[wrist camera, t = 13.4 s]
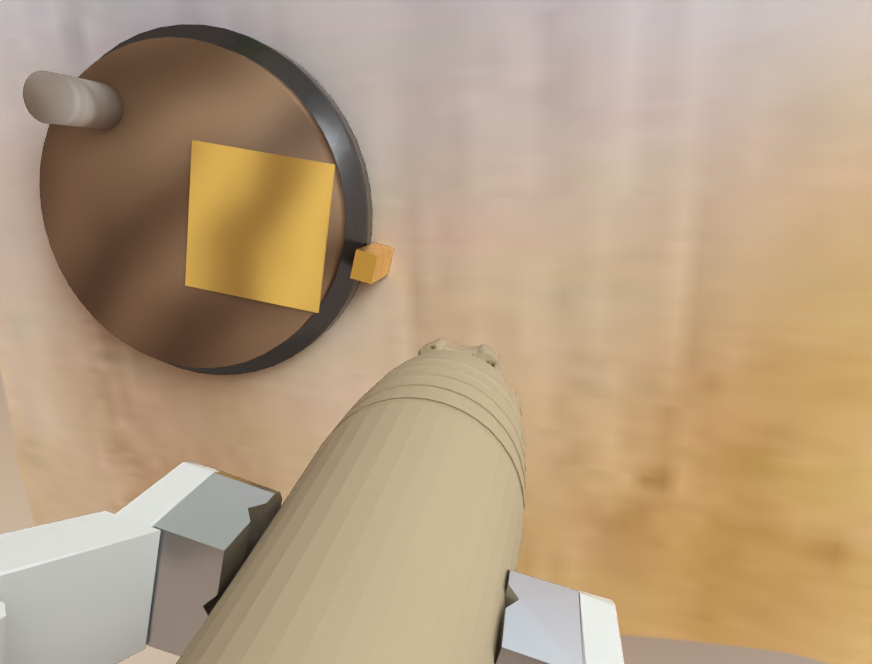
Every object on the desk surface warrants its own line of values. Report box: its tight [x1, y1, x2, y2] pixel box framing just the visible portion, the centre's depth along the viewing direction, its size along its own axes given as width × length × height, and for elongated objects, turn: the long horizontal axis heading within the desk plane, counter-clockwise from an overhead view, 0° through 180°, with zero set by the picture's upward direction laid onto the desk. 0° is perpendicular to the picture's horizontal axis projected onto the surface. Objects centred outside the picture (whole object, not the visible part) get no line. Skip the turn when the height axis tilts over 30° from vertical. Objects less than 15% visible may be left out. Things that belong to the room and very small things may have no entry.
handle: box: [176, 338, 526, 664], centre depth 9 cm, size 5×6×15 cm
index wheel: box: [23, 37, 346, 368], centre depth 33 cm, size 18×18×6 cm
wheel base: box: [100, 25, 394, 375], centre depth 35 cm, size 20×21×4 cm
